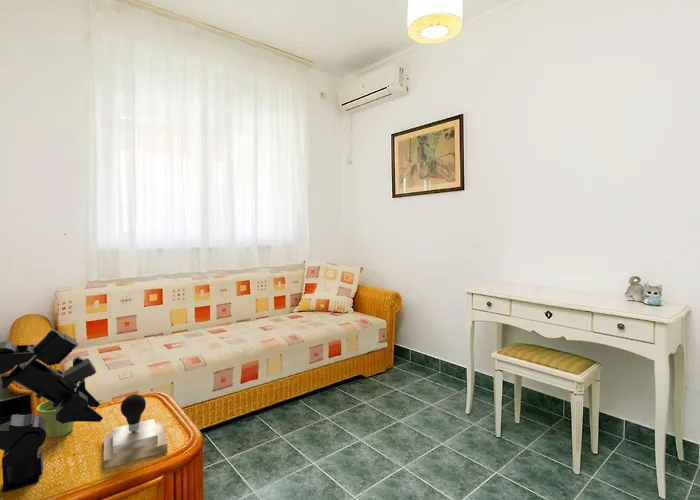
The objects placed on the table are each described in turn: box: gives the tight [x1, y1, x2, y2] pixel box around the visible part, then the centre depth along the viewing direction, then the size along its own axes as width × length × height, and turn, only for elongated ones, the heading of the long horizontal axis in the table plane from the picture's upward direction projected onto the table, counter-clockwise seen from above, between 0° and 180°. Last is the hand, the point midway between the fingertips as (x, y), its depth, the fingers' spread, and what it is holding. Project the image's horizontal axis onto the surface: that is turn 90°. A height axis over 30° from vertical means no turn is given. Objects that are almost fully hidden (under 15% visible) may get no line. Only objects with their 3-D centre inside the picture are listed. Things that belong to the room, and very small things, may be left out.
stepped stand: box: [103, 418, 168, 470], centre depth 103 cm, size 14×14×4 cm
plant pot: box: [36, 400, 75, 439], centre depth 110 cm, size 9×9×9 cm
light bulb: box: [120, 393, 147, 432], centre depth 103 cm, size 6×6×10 cm
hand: (99, 412), depth 98 cm, fingers open, 9 cm apart
